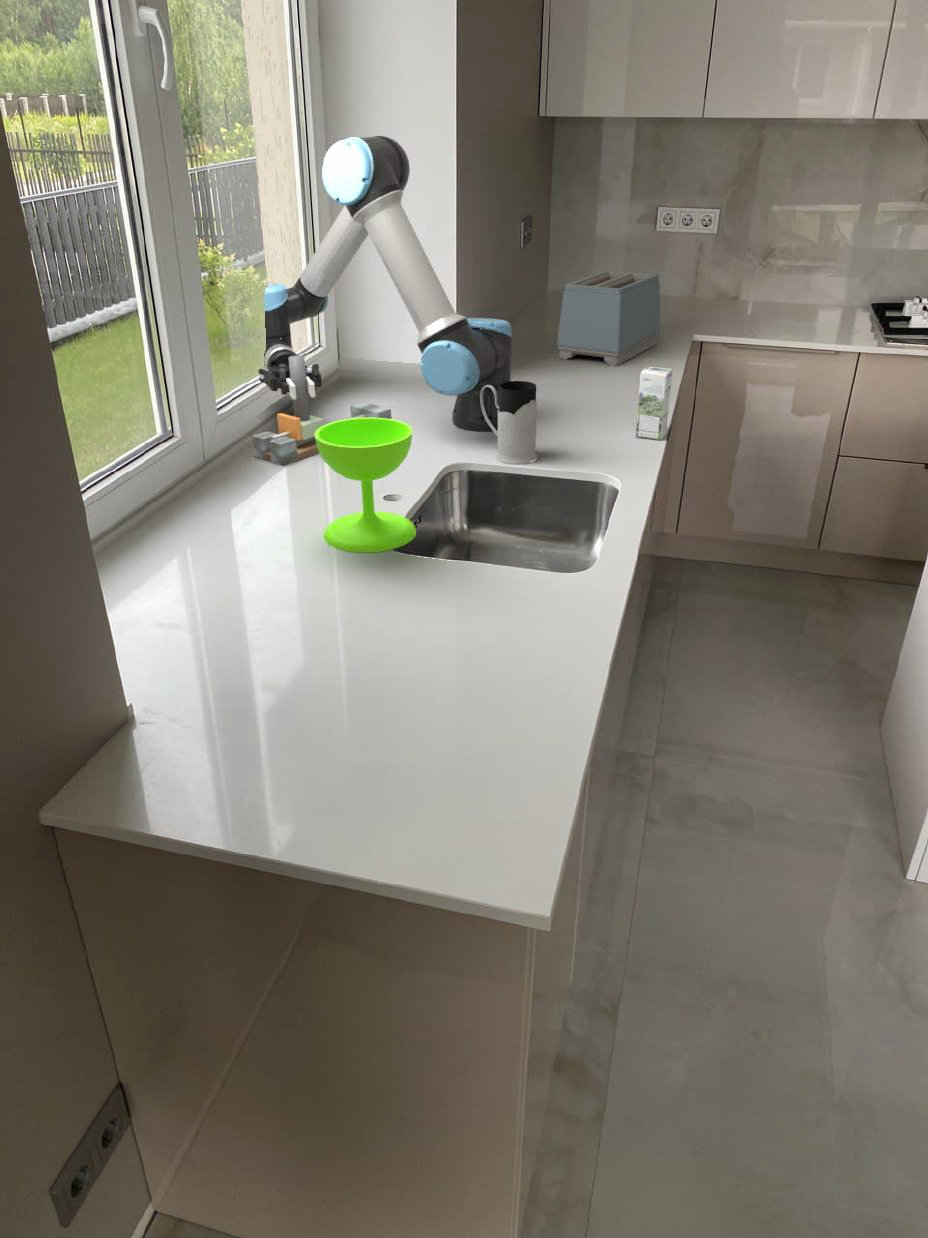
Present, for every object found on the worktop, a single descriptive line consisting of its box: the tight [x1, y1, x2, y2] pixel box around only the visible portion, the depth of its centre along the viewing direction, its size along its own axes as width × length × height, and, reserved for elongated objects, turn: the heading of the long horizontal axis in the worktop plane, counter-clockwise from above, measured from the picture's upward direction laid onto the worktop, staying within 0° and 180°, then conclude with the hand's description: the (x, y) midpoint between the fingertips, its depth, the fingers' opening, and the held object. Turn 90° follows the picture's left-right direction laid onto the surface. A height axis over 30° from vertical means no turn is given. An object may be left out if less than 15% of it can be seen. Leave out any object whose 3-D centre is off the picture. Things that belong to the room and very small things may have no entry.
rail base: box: [252, 401, 392, 467], centre depth 206 cm, size 9×32×4 cm, turn 140°
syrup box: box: [635, 366, 673, 441], centre depth 205 cm, size 6×6×14 cm
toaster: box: [556, 269, 661, 367], centre depth 274 cm, size 19×35×20 cm, turn 148°
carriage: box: [289, 354, 326, 440], centre depth 198 cm, size 7×6×16 cm
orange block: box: [271, 412, 302, 441], centre depth 197 cm, size 6×5×4 cm
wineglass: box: [314, 418, 417, 554], centre depth 159 cm, size 16×16×18 cm
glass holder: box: [480, 380, 538, 465], centre depth 195 cm, size 9×14×15 cm, turn 48°
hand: (303, 391), depth 193 cm, fingers closed on carriage, 3 cm apart
